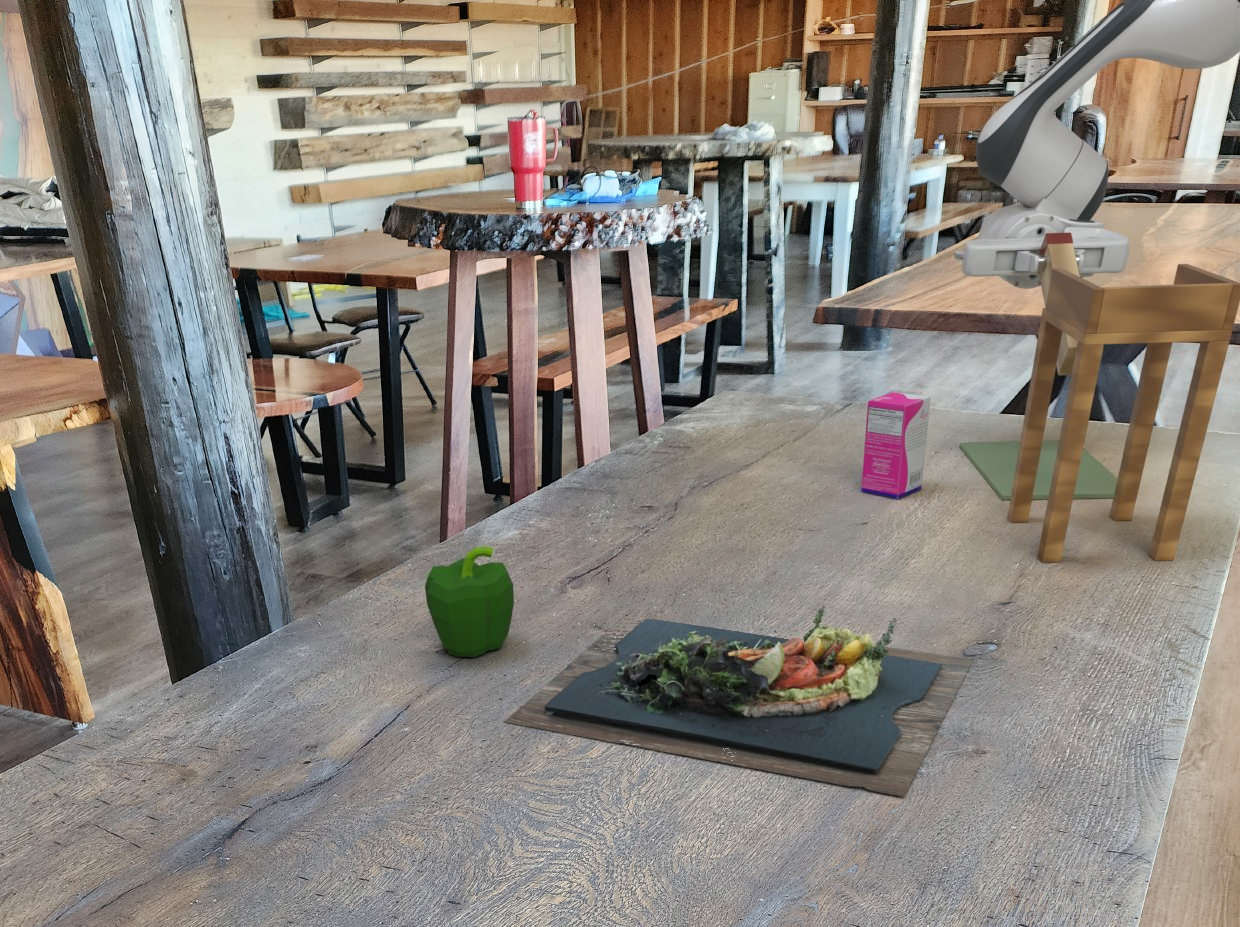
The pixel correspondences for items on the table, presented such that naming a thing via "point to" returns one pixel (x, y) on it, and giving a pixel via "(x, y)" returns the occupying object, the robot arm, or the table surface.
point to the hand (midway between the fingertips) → (1058, 263)
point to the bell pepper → (470, 604)
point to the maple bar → (1058, 256)
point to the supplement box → (895, 444)
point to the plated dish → (758, 700)
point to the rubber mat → (1001, 463)
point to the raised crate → (1128, 317)
